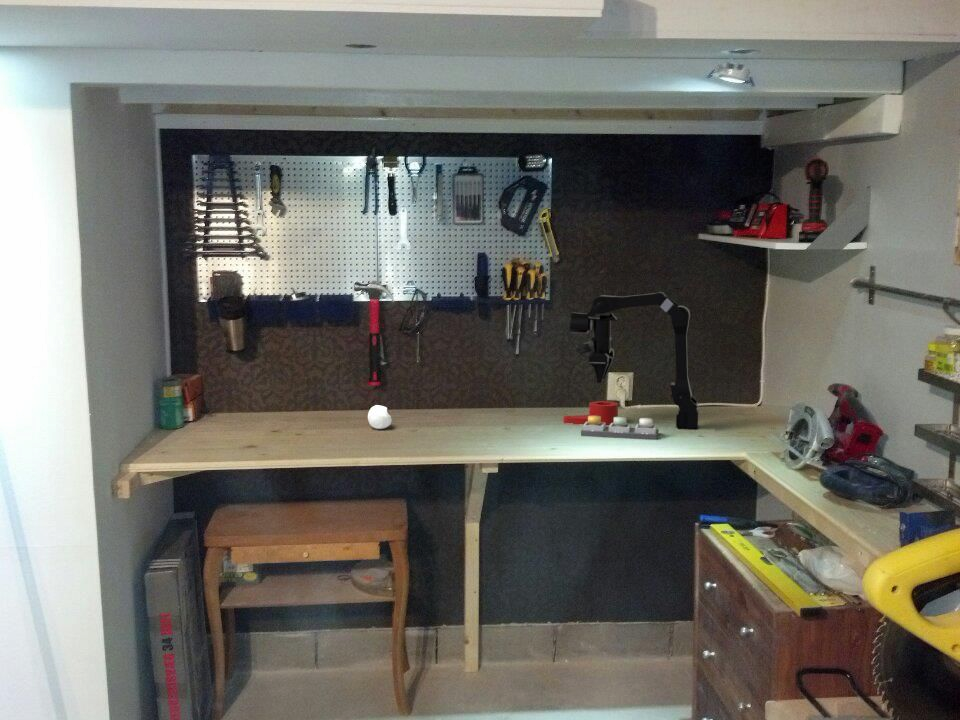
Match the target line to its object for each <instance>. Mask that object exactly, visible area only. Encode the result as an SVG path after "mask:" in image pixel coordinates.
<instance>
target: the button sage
mask: <svg viewBox="0 0 960 720" xmlns="http://www.w3.org/2000/svg"><path fill="white" fill-rule="evenodd" d="M627 419H628V418H627V417H626V416H618V417H614V425H619V426H623V425H626V424H628V423H627V421H628V420H627Z"/></svg>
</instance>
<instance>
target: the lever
mask: <svg viewBox="0 0 960 720" xmlns="http://www.w3.org/2000/svg"><path fill="white" fill-rule="evenodd" d="M588 405H589V406H588V408H589V409H588V410H589V412H588V413H589V414H579V415H578V414H577V415H564V416H563V418H562V422H564V423H563V424H566V423H573V424H572V425H579V424H585V422H588V416H601V422H604V423H606V426H610V424H611V423H614V417H619V415H618V414H619V403H618V402H615V401H605V400H603V401H602V400H598V401H597V400H596V401H591V402H589V403H588Z"/></svg>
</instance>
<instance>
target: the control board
mask: <svg viewBox="0 0 960 720" xmlns="http://www.w3.org/2000/svg"><path fill="white" fill-rule="evenodd" d="M580 436H581V437H582V436H583V437H598V438H614V439H615V438H617V439H635V440H650V441H652V440H655V441H656V440H657V438H658V436H659V428H658V424H653V426H651V427H642V426H639V423H637V424H636V425H635V427H632V424H631V423H627V424H626V425H623V426H619V425H614V423H611V424H610V425H609V426H606V423H604V422H601V424H589V423H588V422H585V424H584V425H582V429H581V430H580Z"/></svg>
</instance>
